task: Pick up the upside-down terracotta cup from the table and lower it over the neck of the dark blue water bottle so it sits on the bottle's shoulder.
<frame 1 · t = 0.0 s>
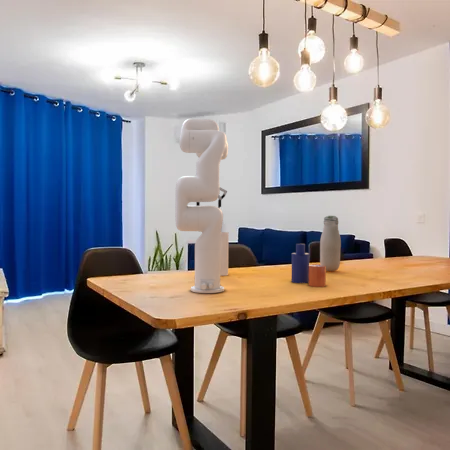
hand: (208, 208, 207), 31 cm above the table, tool pointing down, fingers open, 9 cm apart
cup: (317, 285, 176), on the table
grey bottle: (330, 271, 220), on the table
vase: (219, 274, 208), on the table
water bottle: (300, 281, 185), on the table
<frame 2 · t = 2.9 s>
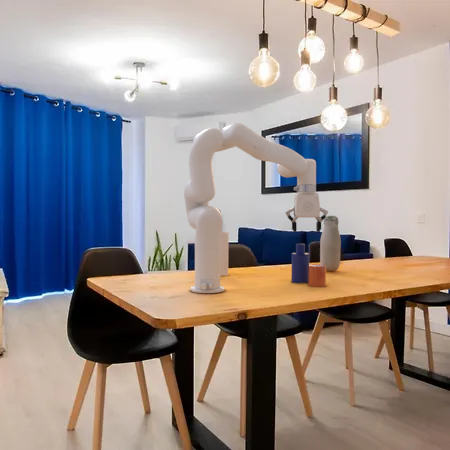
hand: (306, 231, 178), 22 cm above the table, tool pointing down, fingers open, 9 cm apart
nothing on the table moved.
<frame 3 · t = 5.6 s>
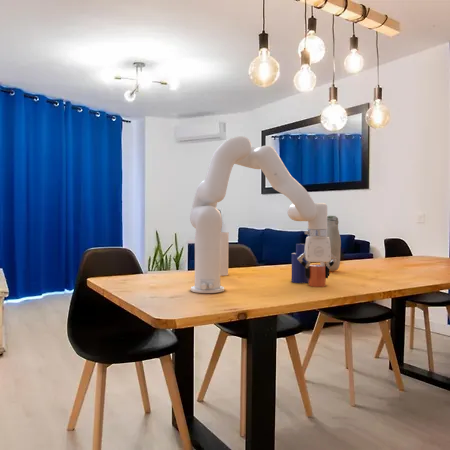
hand: (317, 277, 176), 3 cm above the table, tool pointing down, fingers closed on cup, 6 cm apart
cup: (317, 285, 176), on the table, touching gripper
everything else where it was.
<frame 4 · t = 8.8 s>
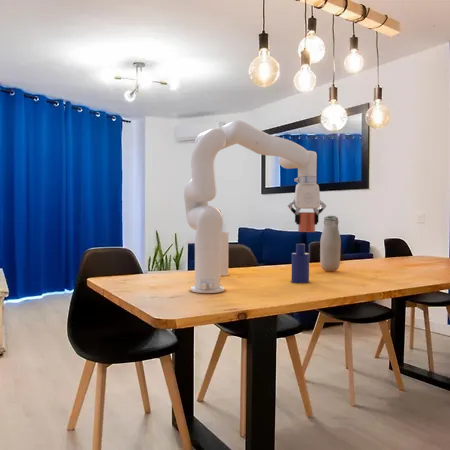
hand: (306, 224, 181), 25 cm above the table, tool pointing down, fingers closed on cup, 6 cm apart
cup: (306, 231, 181), point 21 cm above the table, touching gripper
everything else where it was.
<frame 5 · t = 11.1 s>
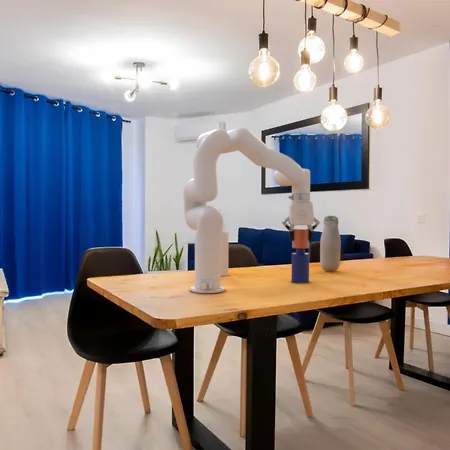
hand: (300, 240, 185), 18 cm above the table, tool pointing down, fingers closed on cup, 6 cm apart
cup: (300, 247, 185), point 14 cm above the table, touching gripper
everything else where it was.
when the fingers open (15 cm above the table, at t = 12.5 s): cup stays where it is, resting on water bottle.
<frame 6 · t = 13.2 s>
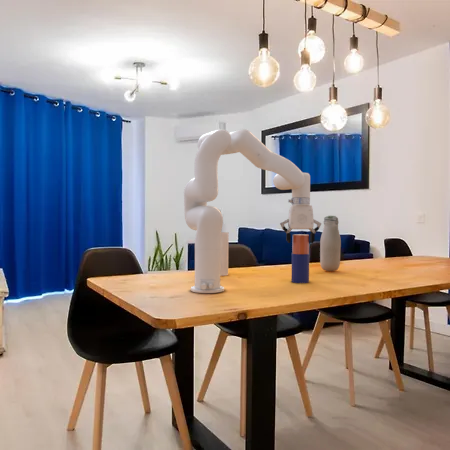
hand: (300, 242, 184), 17 cm above the table, tool pointing down, fingers open, 9 cm apart
cup: (300, 253, 185), point 12 cm above the table, touching water bottle
everything else where it was.
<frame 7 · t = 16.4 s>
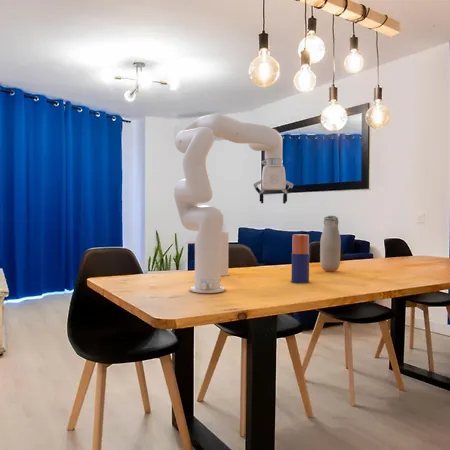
hand: (273, 203, 189), 33 cm above the table, tool pointing down, fingers open, 9 cm apart
nothing on the table moved.
at the end: cup 0.0 cm off-centre in the water bottle, point 12.0 cm above the water bottle's base; cup tilted 0°; the gripper is holding nothing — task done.
